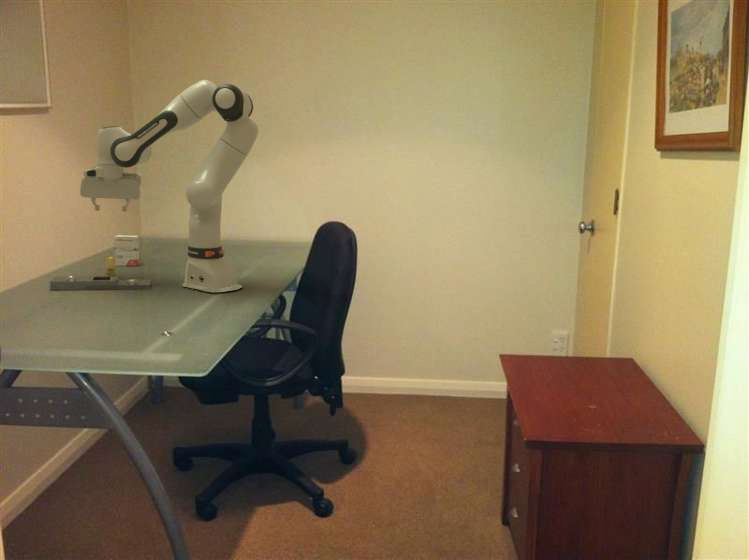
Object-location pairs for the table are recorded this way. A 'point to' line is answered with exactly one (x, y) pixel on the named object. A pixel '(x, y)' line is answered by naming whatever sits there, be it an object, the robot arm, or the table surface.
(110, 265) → the brass pin
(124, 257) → the ink box
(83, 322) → the table surface
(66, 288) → the latch strike plate
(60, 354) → the table surface
